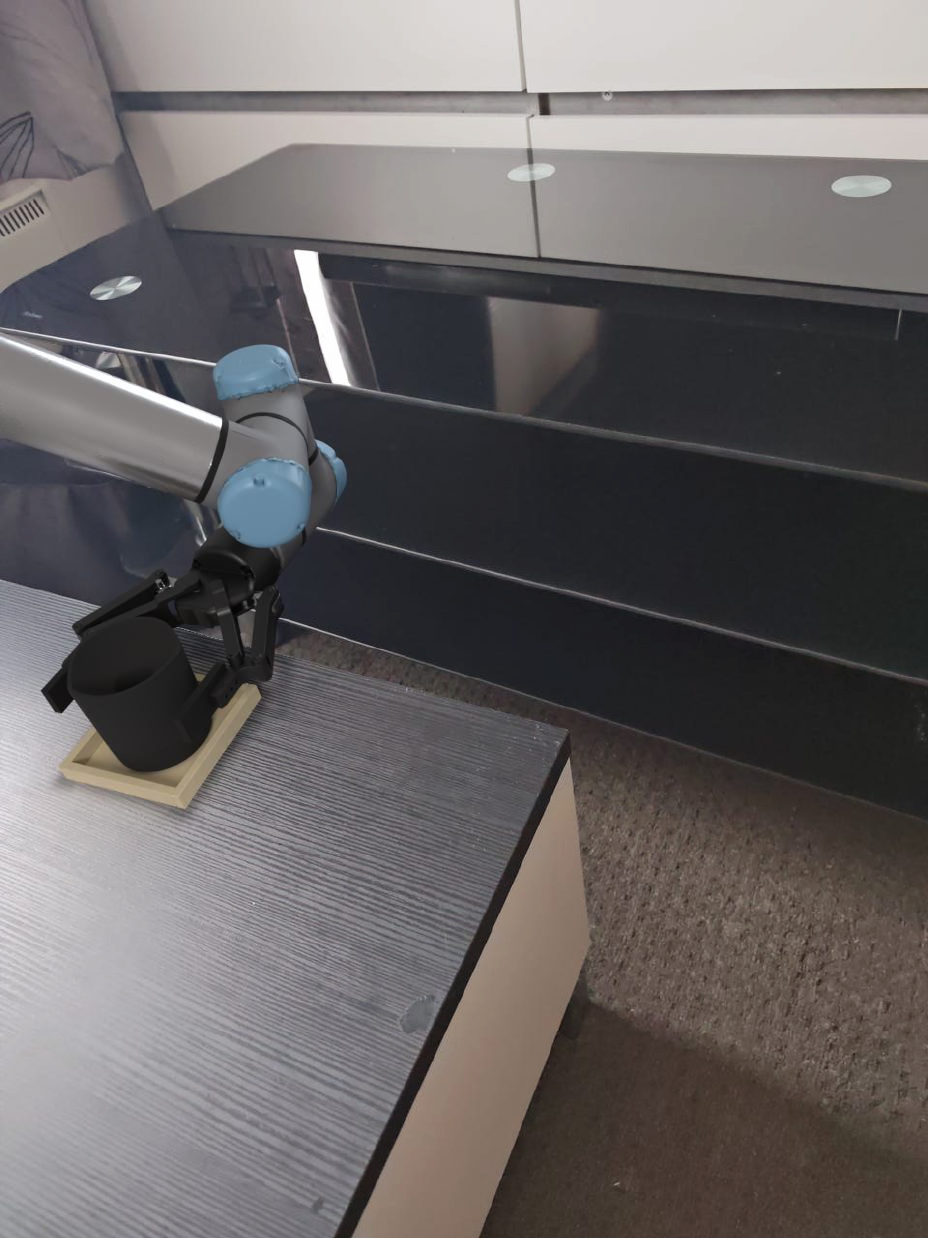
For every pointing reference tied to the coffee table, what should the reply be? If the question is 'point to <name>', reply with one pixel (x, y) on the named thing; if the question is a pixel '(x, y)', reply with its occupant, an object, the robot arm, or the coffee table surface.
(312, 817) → the coffee table surface
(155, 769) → the pen holder
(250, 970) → the coffee table surface
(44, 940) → the coffee table surface
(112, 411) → the robot arm
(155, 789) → the pad
